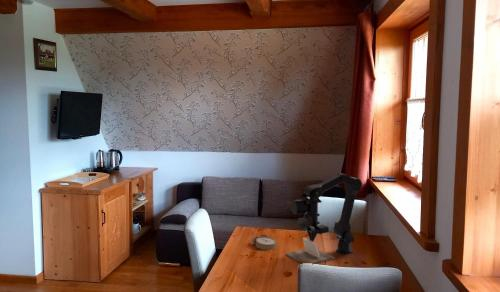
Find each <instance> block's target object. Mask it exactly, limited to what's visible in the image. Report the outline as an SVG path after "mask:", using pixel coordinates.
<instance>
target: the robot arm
mask: <svg viewBox="0 0 500 292" xmlns="http://www.w3.org/2000/svg"><path fill="white" fill-rule="evenodd" d="M342 183H343V184H344V191H345V196H344V201H343V206H342V211H341V214H340V219H339V220H338V222H334V227H333V233H334V235H335V236H336V239H338V243H337V249H335V252H338V253H340V254H342V255H347V254H352V253H354V251H353V250H352V244H353V243H354V242H355V237H354V236H353V235H352V234H351V231H352V228H351V217H352V212H353V209H354V204H355V200H356V196H357V195H358V194H359V193H360V191H361V188H362V186H363V182H362V181H361V179H360V178H358V177H353V176H349V175H347V174H344V173H342V172H338V173H337V174H335V175H333V176H332V177H330V178H327V179H326V180H324V181H321V182H319V183H316V184H311V185H308V186H306V187H305V188H304V190H303V191H304V192H303V193H302V195H301V196H300V198H299V199H294V200H293V202H292V204H291V206H290V207H291V212H292V213H293V214H294V215H299V214H300V215H302V214H303V217H300V218H297V219H296V221H295V224H296V226H297V228H298V229H301V230H304V231H306V233H307V235H308V239H309V240H312V241H314V242H315V238H317V235H321V234H327V233H329V231H330V230H329V228H330V227H328V226H327V225H324V224H320V221H319V217H320V215H321V214H320V213H319V211H318V210H319V204H321V203H322V202H323V201H322V200H321V199H320V197H322V196H323V195H324V193H325V192H326V191H328V190H330V189H332V188H334V187H336V186H338V185H339V184H342Z"/></svg>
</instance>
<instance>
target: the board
mask: <svg viewBox="0 0 500 292" xmlns="http://www.w3.org/2000/svg"><path fill="white" fill-rule="evenodd" d="M319 252H320V256H319V257H318V256H316V255H314V254H312V253H310V252H308V251H306V250H305V248H304V249H299V250H293V251H290V252H289V251H288V252H286V253H285V256H287V257H289V258H290V259H292V260H294V261H296V262H298V263H300V264H301V263H314V264H313V265H315V264H320V263H325V262H329V261H333V260H335V256H332V255H331V254H328V253H326V252H324V251H322V250H320V249H319Z"/></svg>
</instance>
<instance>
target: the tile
mask: <svg viewBox="0 0 500 292" xmlns="http://www.w3.org/2000/svg"><path fill="white" fill-rule="evenodd" d="M302 241H303V244H304V249H305V250H306V251H308V252H310V253H312V254H314V255H316V256H318V257H319V256H320V252H319V250H320V249H319V244H318V242H316V241H315V240H314V241H312V240H310V238H307V237H303V238H302Z"/></svg>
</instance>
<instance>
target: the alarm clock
mask: <svg viewBox="0 0 500 292" xmlns="http://www.w3.org/2000/svg"><path fill="white" fill-rule="evenodd" d="M251 242H252V244H253V246H255V247H256V248H257V249H260V250H262V251H269V250H274V249H276V248H277V247H279V244H277V239H275V238H273V237H271V236H267V235H266V234H262V235H260V236H259V235H258V236H257V235H256V236H253V237H252V239H251Z"/></svg>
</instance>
